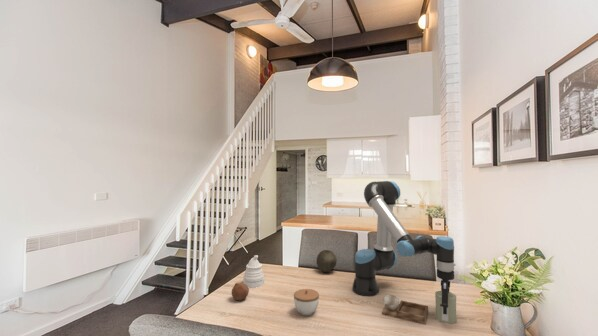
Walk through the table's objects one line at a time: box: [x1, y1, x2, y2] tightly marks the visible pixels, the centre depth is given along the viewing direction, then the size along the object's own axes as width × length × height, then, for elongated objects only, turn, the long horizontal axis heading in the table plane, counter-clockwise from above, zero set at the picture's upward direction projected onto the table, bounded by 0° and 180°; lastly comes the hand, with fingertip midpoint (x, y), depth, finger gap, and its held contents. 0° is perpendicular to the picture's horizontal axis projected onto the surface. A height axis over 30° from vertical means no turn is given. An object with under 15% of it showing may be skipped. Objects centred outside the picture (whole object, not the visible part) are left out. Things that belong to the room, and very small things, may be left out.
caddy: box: [381, 294, 429, 325], centre depth 144 cm, size 20×13×6 cm, turn 61°
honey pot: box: [243, 254, 265, 289], centre depth 183 cm, size 13×13×18 cm
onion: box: [231, 282, 250, 301], centre depth 161 cm, size 10×9×10 cm
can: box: [434, 290, 458, 325], centre depth 139 cm, size 9×9×12 cm
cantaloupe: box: [316, 249, 338, 273], centre depth 203 cm, size 14×14×15 cm
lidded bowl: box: [293, 288, 320, 316], centre depth 146 cm, size 13×13×11 cm
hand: (445, 313), depth 139 cm, fingers open, 13 cm apart
